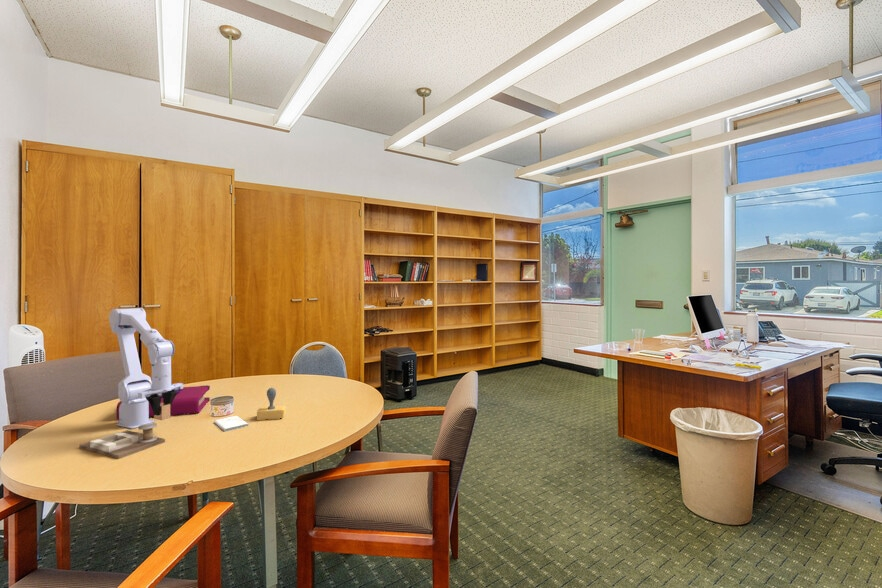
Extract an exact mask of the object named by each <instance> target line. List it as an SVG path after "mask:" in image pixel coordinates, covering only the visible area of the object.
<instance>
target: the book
mask: <svg viewBox="0 0 882 588" xmlns="http://www.w3.org/2000/svg"><path fill="white" fill-rule="evenodd" d="M210 388H211V387H210V385H208V384H207V385H198V386H195V385H194V386H183V389H177V390H175V391H177V395H176V397H175V398H174V400H173V402H172V405H171V409H170V417H172V416H180V415H181V416H182V415H193V414H194V415H195V414H200V413H201V412H202V410H203V409H204V408H205V406H206V405H207V404H208V403H209V402H210V400H211V398H210V396H209V397H208V396H207V397H204V395H205V394H206V393H207V392H208V391H209V390H210ZM158 395H159V396H160V397H162V394H158ZM121 403H122V401H120V400H119V401H118V403H117V404H116V407H115V408H116V411H115V412H116V414H115V415H116V420H118V421H119V407H120V405H121ZM161 403H163V397H162V399H161ZM206 403H207V404H206ZM149 418H154V413H153V410H152V407H151V405H150V403H149Z"/></svg>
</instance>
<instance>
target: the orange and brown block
mask: <svg viewBox="0 0 882 588" xmlns="http://www.w3.org/2000/svg"><path fill="white" fill-rule="evenodd" d="M153 418H154V420H159V421H164V420H167V419H170V418H171V416H170V404H168V403H160V415H158V416H157V415H154V417H153Z"/></svg>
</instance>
